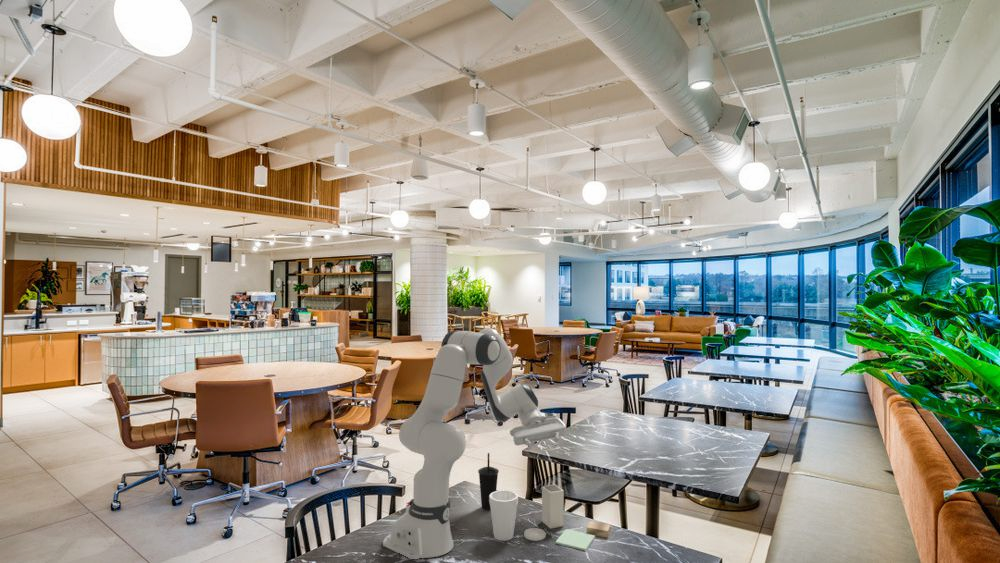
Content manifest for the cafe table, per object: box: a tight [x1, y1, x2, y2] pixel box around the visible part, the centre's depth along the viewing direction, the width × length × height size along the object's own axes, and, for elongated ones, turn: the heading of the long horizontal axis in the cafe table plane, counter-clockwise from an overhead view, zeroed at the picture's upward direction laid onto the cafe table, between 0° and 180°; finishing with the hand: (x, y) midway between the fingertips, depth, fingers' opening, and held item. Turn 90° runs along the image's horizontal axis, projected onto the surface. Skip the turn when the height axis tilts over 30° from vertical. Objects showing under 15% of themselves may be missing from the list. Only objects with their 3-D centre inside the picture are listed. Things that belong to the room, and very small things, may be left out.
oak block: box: [586, 520, 612, 539], centre depth 166 cm, size 7×5×2 cm
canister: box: [541, 484, 565, 529], centre depth 173 cm, size 6×5×12 cm
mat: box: [555, 528, 596, 552], centre depth 161 cm, size 10×10×1 cm
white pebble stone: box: [523, 527, 546, 542], centre depth 164 cm, size 7×7×1 cm
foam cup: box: [489, 489, 519, 541], centre depth 164 cm, size 10×9×13 cm
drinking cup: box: [477, 452, 500, 511], centre depth 186 cm, size 8×8×20 cm
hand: (544, 443), depth 180 cm, fingers open, 8 cm apart
